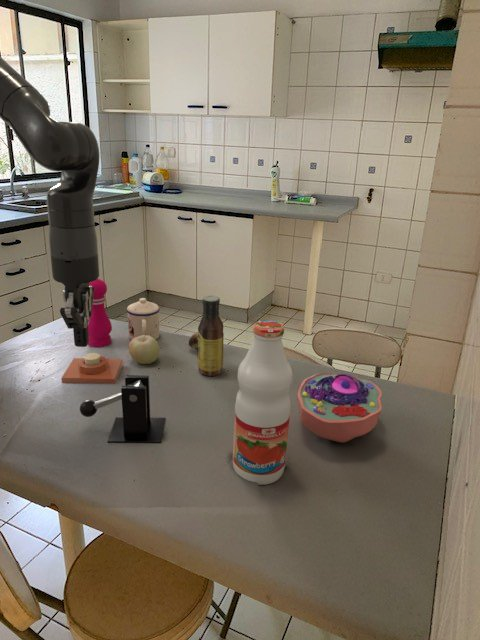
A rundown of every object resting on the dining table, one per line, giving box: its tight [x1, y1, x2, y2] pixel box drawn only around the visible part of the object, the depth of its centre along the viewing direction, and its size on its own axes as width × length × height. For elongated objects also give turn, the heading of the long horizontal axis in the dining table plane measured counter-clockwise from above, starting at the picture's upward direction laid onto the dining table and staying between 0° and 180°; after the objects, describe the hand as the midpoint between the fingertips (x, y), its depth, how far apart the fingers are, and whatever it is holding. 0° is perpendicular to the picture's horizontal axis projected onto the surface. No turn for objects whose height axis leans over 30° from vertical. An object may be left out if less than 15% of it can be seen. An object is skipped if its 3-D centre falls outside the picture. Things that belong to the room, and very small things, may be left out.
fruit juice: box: [232, 319, 294, 486], centre depth 78 cm, size 9×9×28 cm
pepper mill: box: [87, 278, 113, 348], centre depth 125 cm, size 7×7×20 cm
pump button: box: [83, 352, 101, 366], centre depth 110 cm, size 4×4×2 cm
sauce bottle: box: [197, 294, 225, 377], centre depth 112 cm, size 7×6×20 cm
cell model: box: [296, 372, 383, 444], centre depth 93 cm, size 17×20×11 cm
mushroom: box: [188, 331, 198, 350], centre depth 126 cm, size 8×8×6 cm
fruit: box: [128, 334, 160, 365], centre depth 118 cm, size 8×7×8 cm
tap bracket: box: [107, 374, 166, 444], centre depth 89 cm, size 10×8×12 cm
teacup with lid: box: [126, 297, 160, 341], centre depth 130 cm, size 12×9×12 cm
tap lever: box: [79, 380, 144, 418], centre depth 88 cm, size 13×3×3 cm, turn 92°
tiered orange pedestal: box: [60, 355, 124, 385], centre depth 111 cm, size 12×10×4 cm
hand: (82, 345), depth 84 cm, fingers closed
